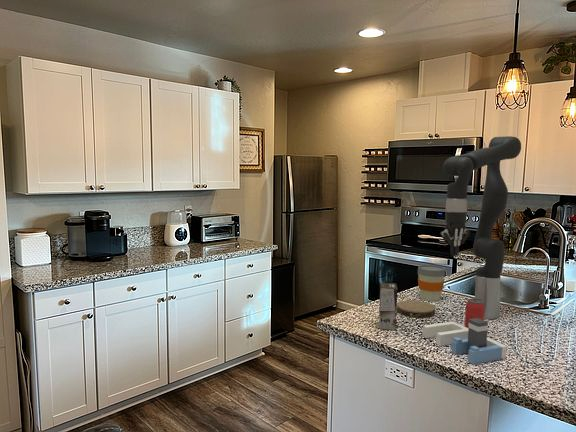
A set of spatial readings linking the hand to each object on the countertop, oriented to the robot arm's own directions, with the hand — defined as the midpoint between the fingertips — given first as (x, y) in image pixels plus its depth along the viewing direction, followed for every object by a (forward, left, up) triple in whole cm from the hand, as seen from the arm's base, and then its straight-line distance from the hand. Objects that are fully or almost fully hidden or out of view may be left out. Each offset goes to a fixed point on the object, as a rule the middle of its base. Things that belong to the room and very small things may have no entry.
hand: (454, 255), depth 163 cm
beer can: (-6, +6, -29) cm, 30 cm away
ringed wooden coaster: (+1, -20, -29) cm, 36 cm away
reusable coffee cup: (-18, -34, -29) cm, 48 cm away
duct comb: (+10, +16, -29) cm, 34 cm away
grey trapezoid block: (+10, +23, -29) cm, 38 cm away
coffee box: (+22, -10, -29) cm, 38 cm away
